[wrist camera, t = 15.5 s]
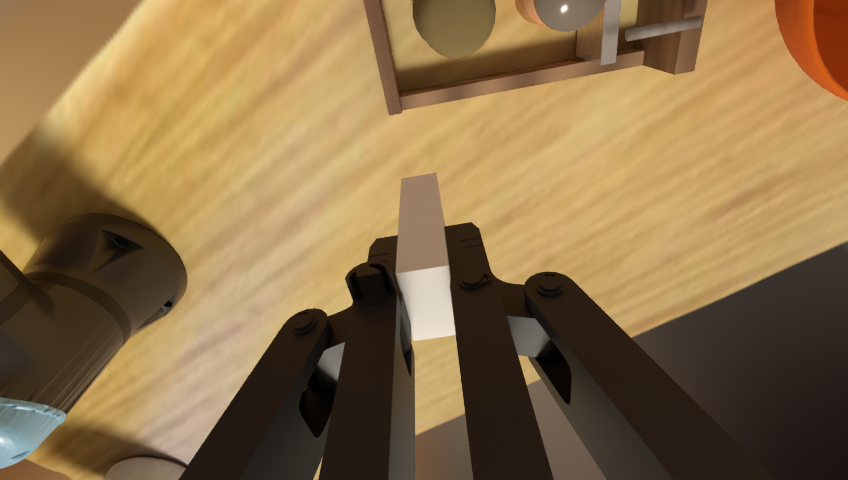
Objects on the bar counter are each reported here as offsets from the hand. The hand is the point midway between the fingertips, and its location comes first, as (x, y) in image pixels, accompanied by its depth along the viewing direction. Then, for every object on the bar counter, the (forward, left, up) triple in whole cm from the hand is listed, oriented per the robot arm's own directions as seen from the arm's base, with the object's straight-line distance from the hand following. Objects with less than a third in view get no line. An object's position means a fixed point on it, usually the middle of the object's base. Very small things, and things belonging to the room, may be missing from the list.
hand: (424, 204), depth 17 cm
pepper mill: (+4, +6, -25) cm, 26 cm away
